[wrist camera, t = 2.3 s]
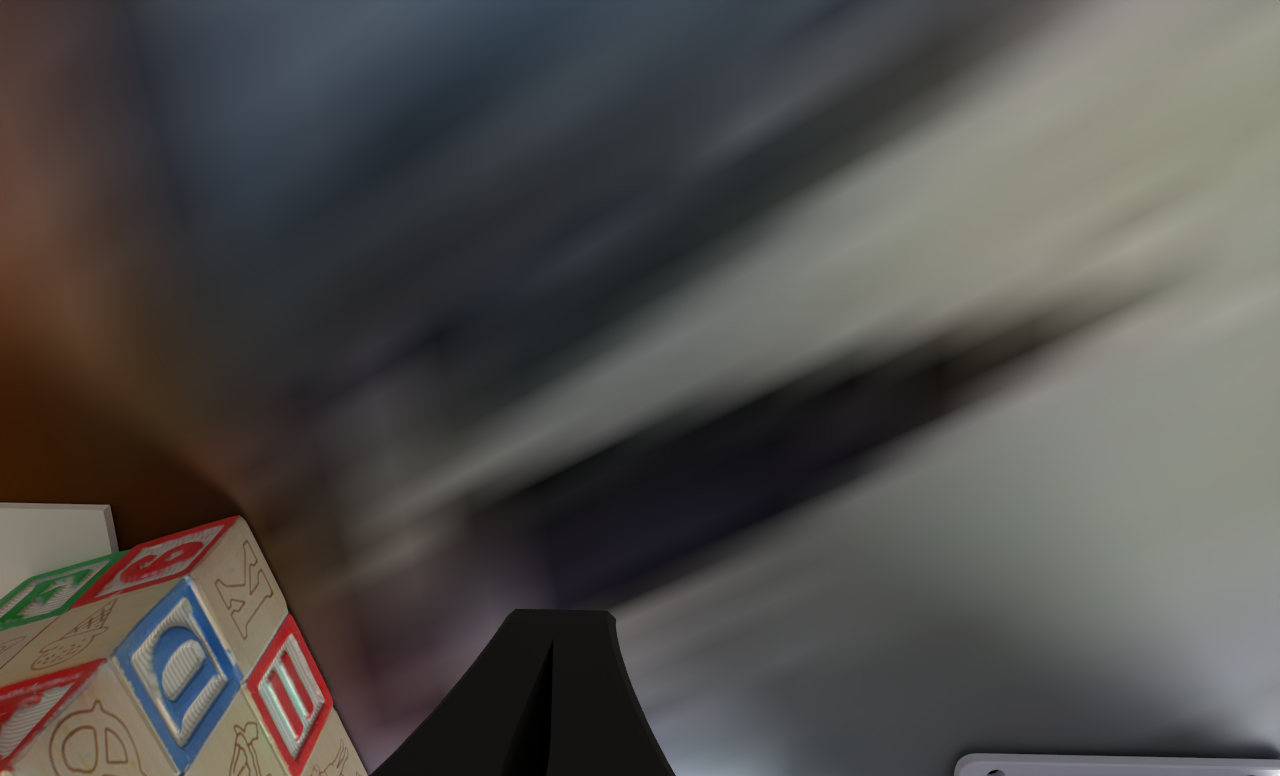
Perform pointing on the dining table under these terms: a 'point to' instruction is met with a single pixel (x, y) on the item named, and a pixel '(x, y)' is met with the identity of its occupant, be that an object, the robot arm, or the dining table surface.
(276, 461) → the dining table surface
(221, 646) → the stack of blocks
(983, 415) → the dining table surface
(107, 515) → the mat
